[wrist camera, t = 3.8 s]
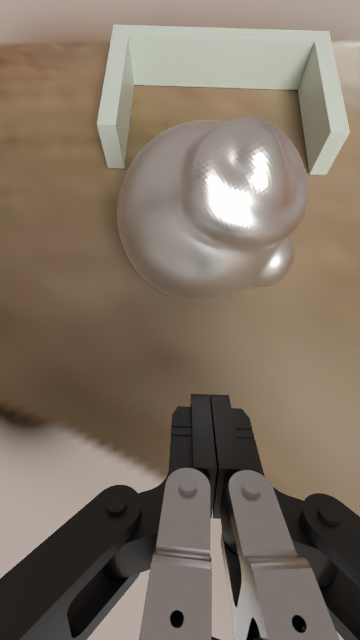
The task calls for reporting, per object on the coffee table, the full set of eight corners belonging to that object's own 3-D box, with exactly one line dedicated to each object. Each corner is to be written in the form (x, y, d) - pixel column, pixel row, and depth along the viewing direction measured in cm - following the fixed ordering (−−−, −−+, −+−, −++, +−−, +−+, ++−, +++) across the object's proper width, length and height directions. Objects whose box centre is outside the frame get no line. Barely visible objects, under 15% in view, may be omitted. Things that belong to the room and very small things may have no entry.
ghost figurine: (192, 362, 19) (207, 286, 9) (104, 250, 21) (45, 102, 12) (302, 279, 21) (408, 145, 11) (209, 185, 23) (231, 13, 14)
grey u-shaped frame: (107, 167, 24) (96, 124, 20) (121, 74, 27) (113, 24, 24) (325, 175, 24) (349, 132, 20) (310, 80, 27) (329, 31, 24)
